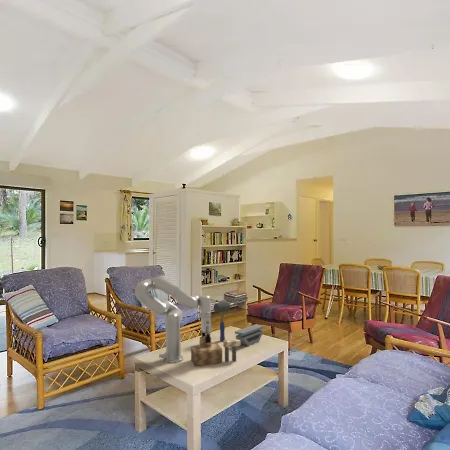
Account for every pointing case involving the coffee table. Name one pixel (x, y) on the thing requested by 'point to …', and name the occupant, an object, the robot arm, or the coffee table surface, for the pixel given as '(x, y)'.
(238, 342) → the pale wooden bar
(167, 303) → the robot arm
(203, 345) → the lid
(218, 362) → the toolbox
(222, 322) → the rubber mallet
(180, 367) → the coffee table surface
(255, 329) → the sharpening stone
